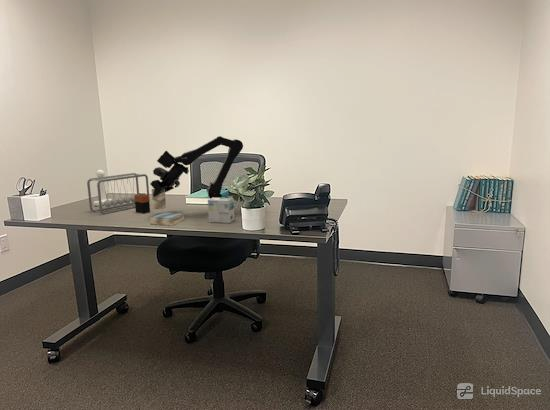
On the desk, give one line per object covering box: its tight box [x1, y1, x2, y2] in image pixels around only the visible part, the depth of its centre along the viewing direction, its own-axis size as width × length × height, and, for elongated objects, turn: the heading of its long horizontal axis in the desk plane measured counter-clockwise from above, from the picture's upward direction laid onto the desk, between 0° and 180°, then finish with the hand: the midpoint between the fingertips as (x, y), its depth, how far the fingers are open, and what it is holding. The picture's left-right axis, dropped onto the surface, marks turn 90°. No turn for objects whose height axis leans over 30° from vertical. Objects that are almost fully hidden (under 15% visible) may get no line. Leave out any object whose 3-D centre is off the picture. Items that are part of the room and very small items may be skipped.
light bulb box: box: [207, 197, 236, 224], centre depth 191 cm, size 11×7×11 cm, turn 77°
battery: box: [134, 192, 151, 214], centre depth 212 cm, size 4×7×10 cm, turn 54°
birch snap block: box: [151, 188, 167, 210], centre depth 205 cm, size 5×5×10 cm
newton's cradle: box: [86, 172, 151, 215], centre depth 221 cm, size 30×10×18 cm, turn 144°
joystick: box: [92, 169, 113, 207], centre depth 231 cm, size 11×8×20 cm
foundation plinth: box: [149, 212, 185, 227], centre depth 191 cm, size 11×11×3 cm
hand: (156, 195), depth 205 cm, fingers closed on birch snap block, 5 cm apart
